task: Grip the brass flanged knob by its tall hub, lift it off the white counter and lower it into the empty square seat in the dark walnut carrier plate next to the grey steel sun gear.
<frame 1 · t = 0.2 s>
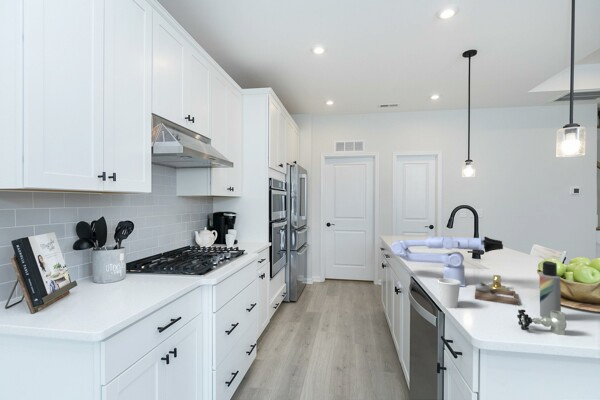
hand: (502, 244, 137), 21 cm above the worktop, tool horizontal, fingers open, 7 cm apart
valve: (543, 332, 94), on the worktop
lotion bottle: (550, 318, 105), on the worktop
carrier: (495, 296, 128), on the worktop
brass flanged knob: (497, 289, 138), on the worktop
dixie cup: (449, 306, 118), on the worktop
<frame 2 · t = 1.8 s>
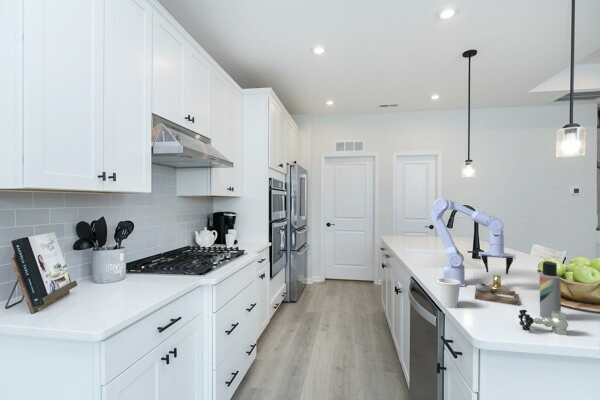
hand: (497, 272, 138), 8 cm above the worktop, tool pointing down, fingers open, 7 cm apart
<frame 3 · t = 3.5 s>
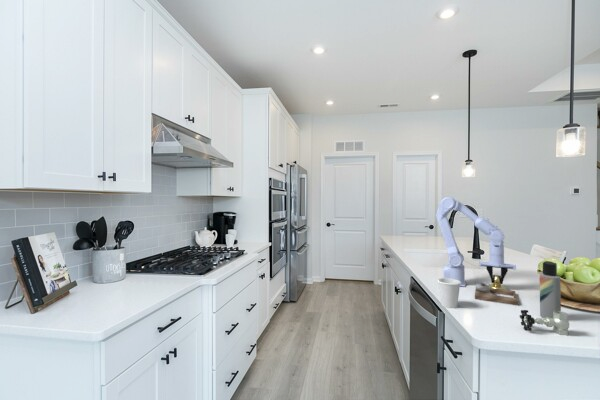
hand: (497, 283, 138), 3 cm above the worktop, tool pointing down, fingers closed on brass flanged knob, 3 cm apart
brass flanged knob: (497, 289, 138), on the worktop, touching gripper
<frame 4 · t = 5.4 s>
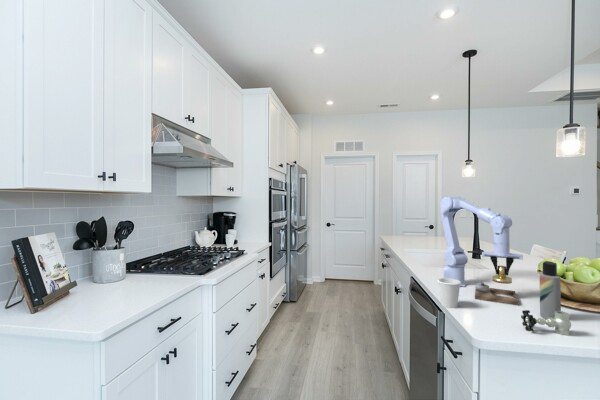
hand: (501, 274, 127), 10 cm above the worktop, tool pointing down, fingers closed on brass flanged knob, 3 cm apart
brass flanged knob: (501, 281, 127), point 7 cm above the worktop, touching gripper
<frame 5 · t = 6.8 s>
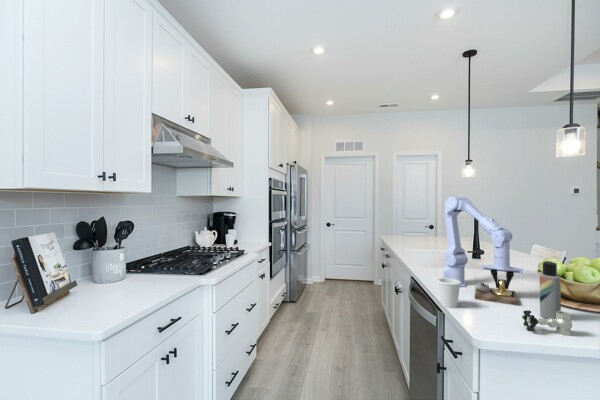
hand: (502, 288, 127), 4 cm above the worktop, tool pointing down, fingers closed on brass flanged knob, 3 cm apart
brass flanged knob: (502, 294, 127), point 1 cm above the worktop, touching gripper
when the fingers open (4 cm above the worktop, at t = 7.7 s): brass flanged knob drops 1 cm, resting in carrier.
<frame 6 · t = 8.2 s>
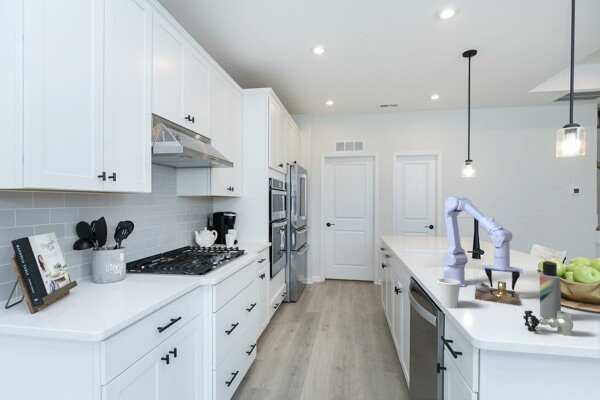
hand: (502, 288, 127), 4 cm above the worktop, tool pointing down, fingers open, 7 cm apart
brass flanged knob: (502, 297, 127), resting in carrier
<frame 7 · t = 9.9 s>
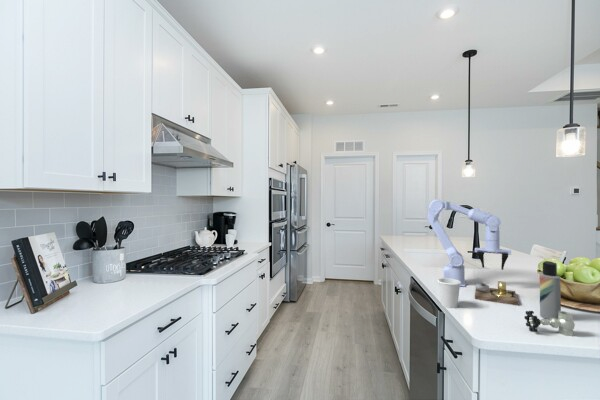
hand: (492, 268, 140), 9 cm above the worktop, tool pointing down, fingers open, 7 cm apart
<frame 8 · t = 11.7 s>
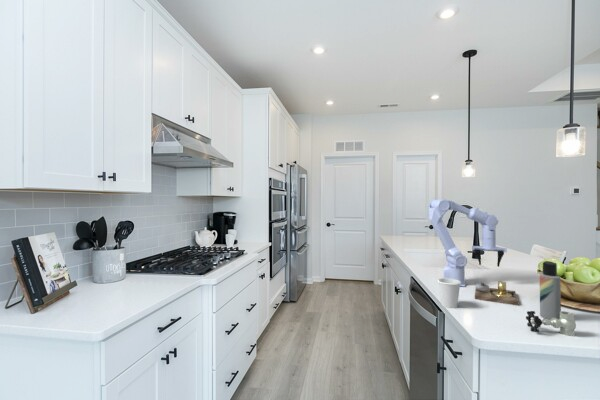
hand: (489, 265, 146), 9 cm above the worktop, tool pointing down, fingers open, 7 cm apart
at the end: brass flanged knob 0.4 cm from the target spot on the carrier, point 0.0 cm above the carrier's base; brass flanged knob tilted 0°; the gripper is holding nothing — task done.
